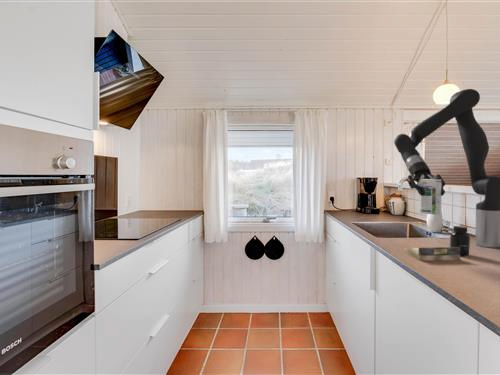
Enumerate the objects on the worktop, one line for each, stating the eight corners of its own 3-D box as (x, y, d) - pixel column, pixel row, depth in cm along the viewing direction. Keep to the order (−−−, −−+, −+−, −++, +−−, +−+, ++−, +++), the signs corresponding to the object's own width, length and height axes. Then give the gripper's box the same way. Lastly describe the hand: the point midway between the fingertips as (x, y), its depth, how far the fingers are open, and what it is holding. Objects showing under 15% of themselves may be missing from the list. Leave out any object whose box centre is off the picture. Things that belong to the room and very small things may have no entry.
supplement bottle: (461, 257, 118) (461, 228, 117) (445, 253, 124) (446, 225, 124) (473, 255, 119) (474, 227, 119) (457, 251, 126) (458, 224, 125)
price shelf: (440, 251, 126) (440, 240, 126) (460, 260, 114) (460, 247, 113) (404, 252, 126) (404, 241, 126) (420, 260, 114) (420, 248, 114)
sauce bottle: (445, 232, 165) (446, 202, 164) (435, 233, 163) (436, 202, 162) (433, 230, 172) (433, 201, 172) (423, 231, 170) (423, 201, 169)
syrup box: (419, 213, 120) (420, 179, 120) (427, 212, 123) (427, 178, 123) (434, 214, 116) (434, 179, 115) (441, 213, 119) (442, 178, 118)
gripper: (404, 161, 126) (419, 188, 115) (436, 160, 126) (455, 188, 115) (398, 173, 131) (412, 200, 120) (429, 172, 131) (446, 200, 120)
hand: (433, 194), depth 118 cm, fingers closed on syrup box, 7 cm apart
